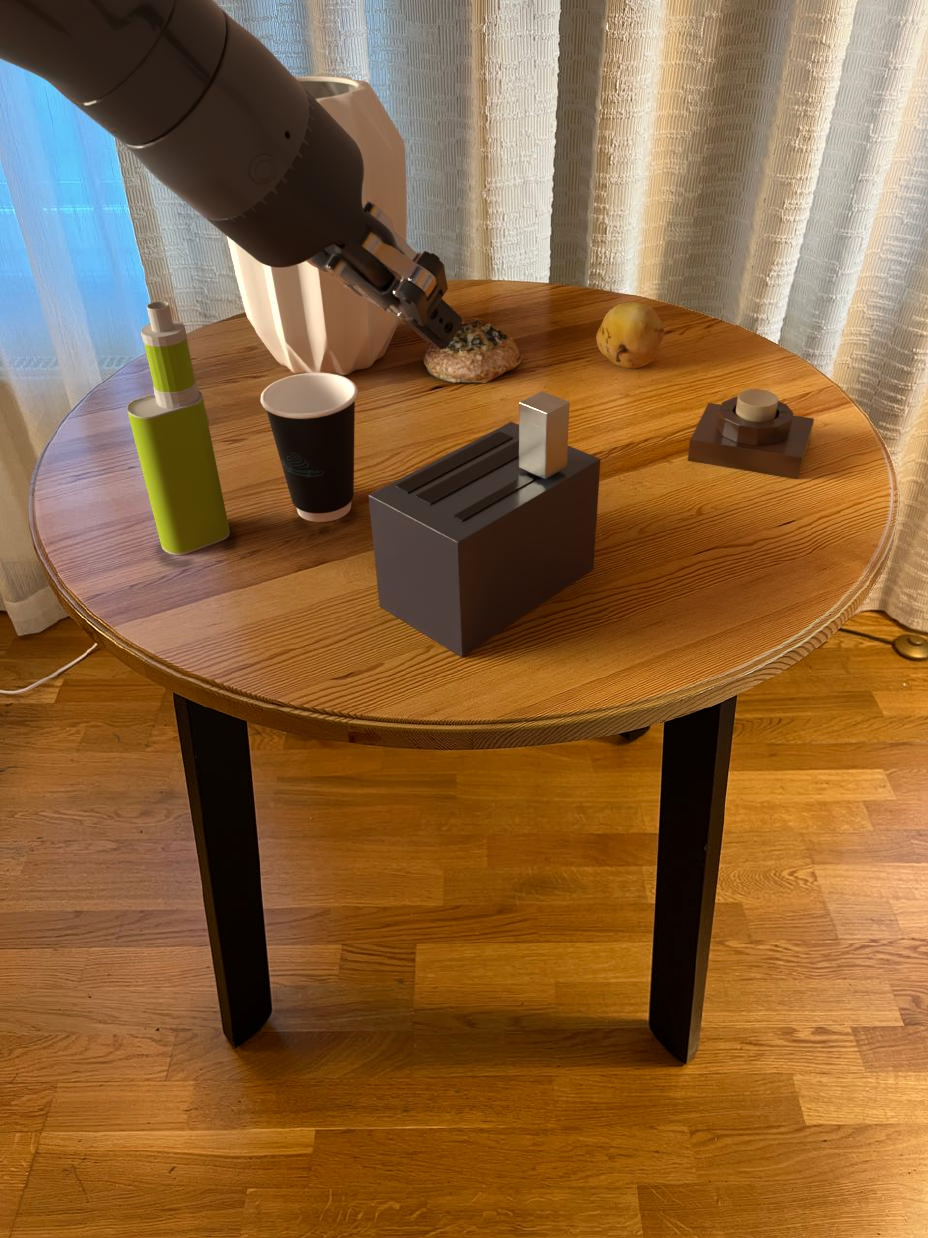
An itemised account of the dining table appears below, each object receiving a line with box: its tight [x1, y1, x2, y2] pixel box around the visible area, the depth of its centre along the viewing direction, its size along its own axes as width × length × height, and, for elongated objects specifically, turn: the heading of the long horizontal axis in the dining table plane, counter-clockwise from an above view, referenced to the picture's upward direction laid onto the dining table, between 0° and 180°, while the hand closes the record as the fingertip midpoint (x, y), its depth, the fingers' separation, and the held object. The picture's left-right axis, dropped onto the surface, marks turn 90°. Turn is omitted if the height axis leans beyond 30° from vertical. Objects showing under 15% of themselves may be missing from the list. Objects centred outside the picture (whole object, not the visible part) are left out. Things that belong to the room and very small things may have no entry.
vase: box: [226, 74, 408, 376], centre depth 107 cm, size 20×20×28 cm
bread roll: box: [422, 318, 523, 384], centre depth 112 cm, size 11×11×5 cm
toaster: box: [368, 421, 601, 659], centre depth 77 cm, size 15×9×10 cm, turn 135°
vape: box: [126, 300, 231, 556], centre depth 81 cm, size 4×6×20 cm, turn 126°
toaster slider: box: [518, 390, 570, 479], centre depth 72 cm, size 2×3×5 cm
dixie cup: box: [260, 373, 359, 523], centre depth 87 cm, size 8×8×11 cm
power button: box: [735, 388, 779, 422], centre depth 93 cm, size 4×4×2 cm
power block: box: [687, 396, 815, 480], centre depth 95 cm, size 10×8×4 cm
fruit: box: [595, 301, 665, 369], centre depth 110 cm, size 7×7×10 cm
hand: (446, 332), depth 61 cm, fingers closed
